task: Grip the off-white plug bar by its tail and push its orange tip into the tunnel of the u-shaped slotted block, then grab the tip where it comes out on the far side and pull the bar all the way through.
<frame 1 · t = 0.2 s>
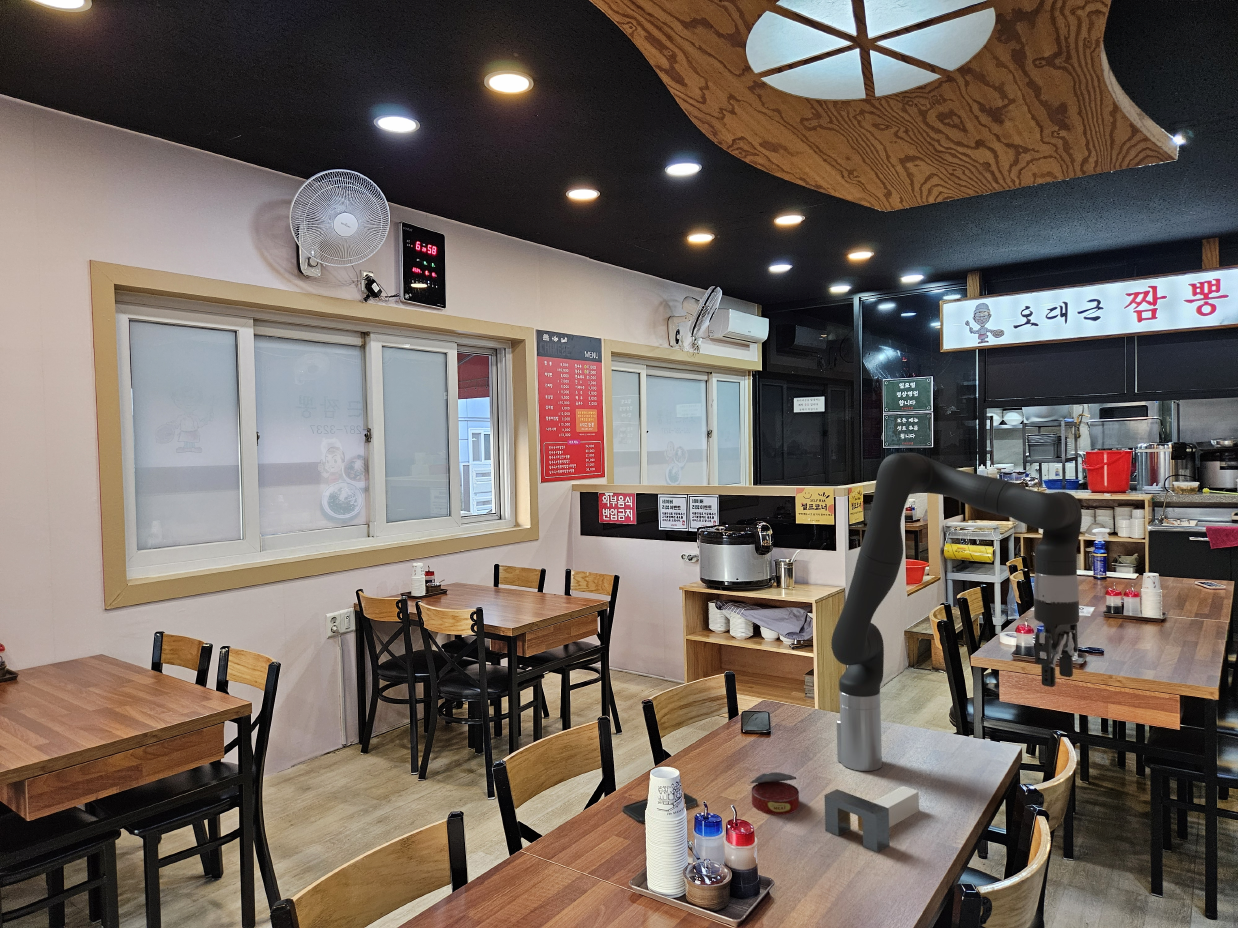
hand: (1057, 681, 151), 29 cm above the table, tool pointing down, fingers open, 8 cm apart
phone: (660, 810, 166), on the table
canned food: (775, 805, 166), on the table
u-shaped slotted block: (856, 837, 150), on the table
plug bar: (889, 819, 157), on the table
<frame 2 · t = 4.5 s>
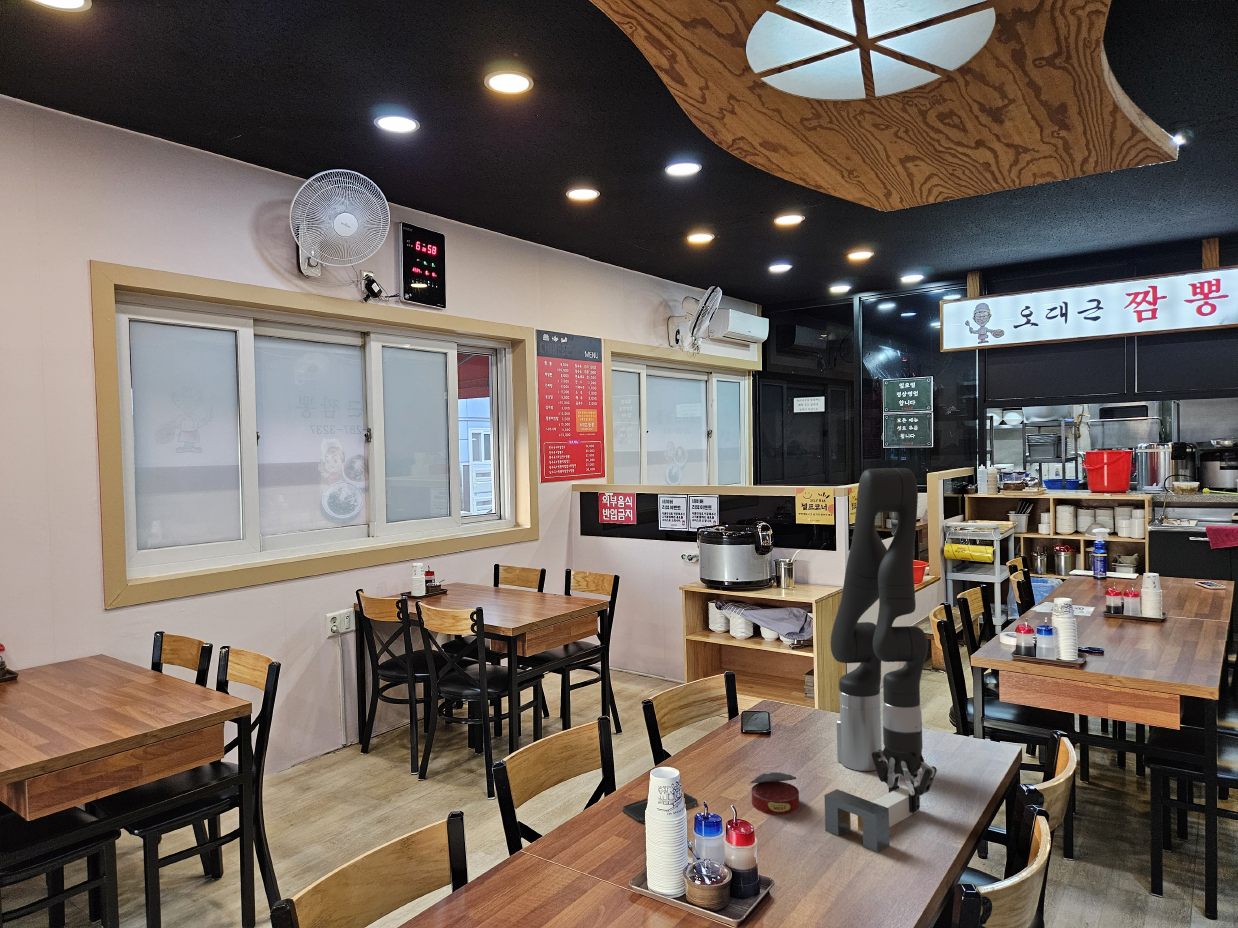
hand: (904, 807, 161), 1 cm above the table, tool pointing down, fingers closed on plug bar, 3 cm apart
plug bar: (889, 819, 157), on the table, touching gripper
everything else where it was.
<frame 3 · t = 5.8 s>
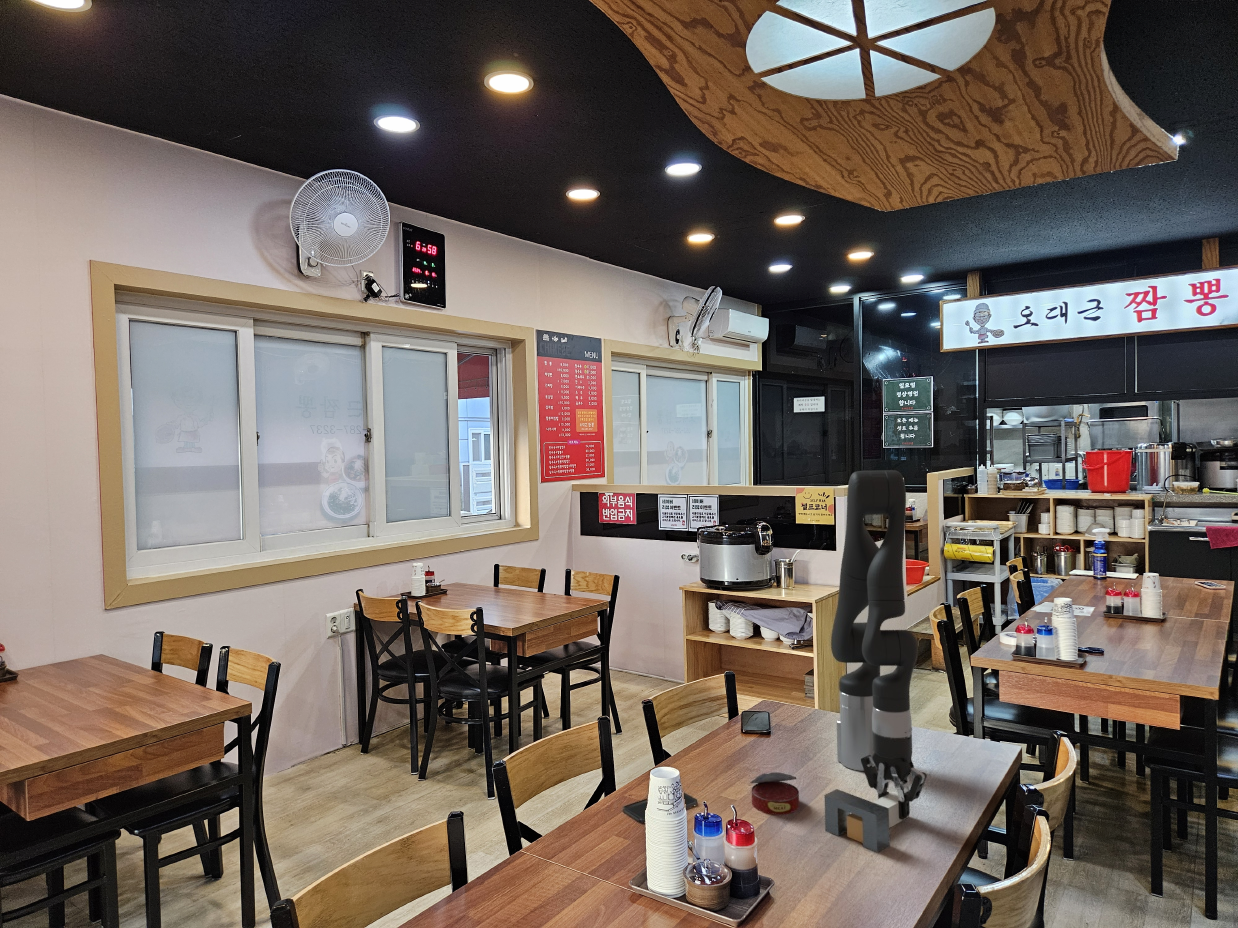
hand: (894, 814, 158), 1 cm above the table, tool pointing down, fingers closed on plug bar, 3 cm apart
plug bar: (878, 826, 155), on the table, touching gripper
everything else where it was.
when the fingers open (1 cm above the table, at t = 7.5 s): plug bar stays where it is, on the table.
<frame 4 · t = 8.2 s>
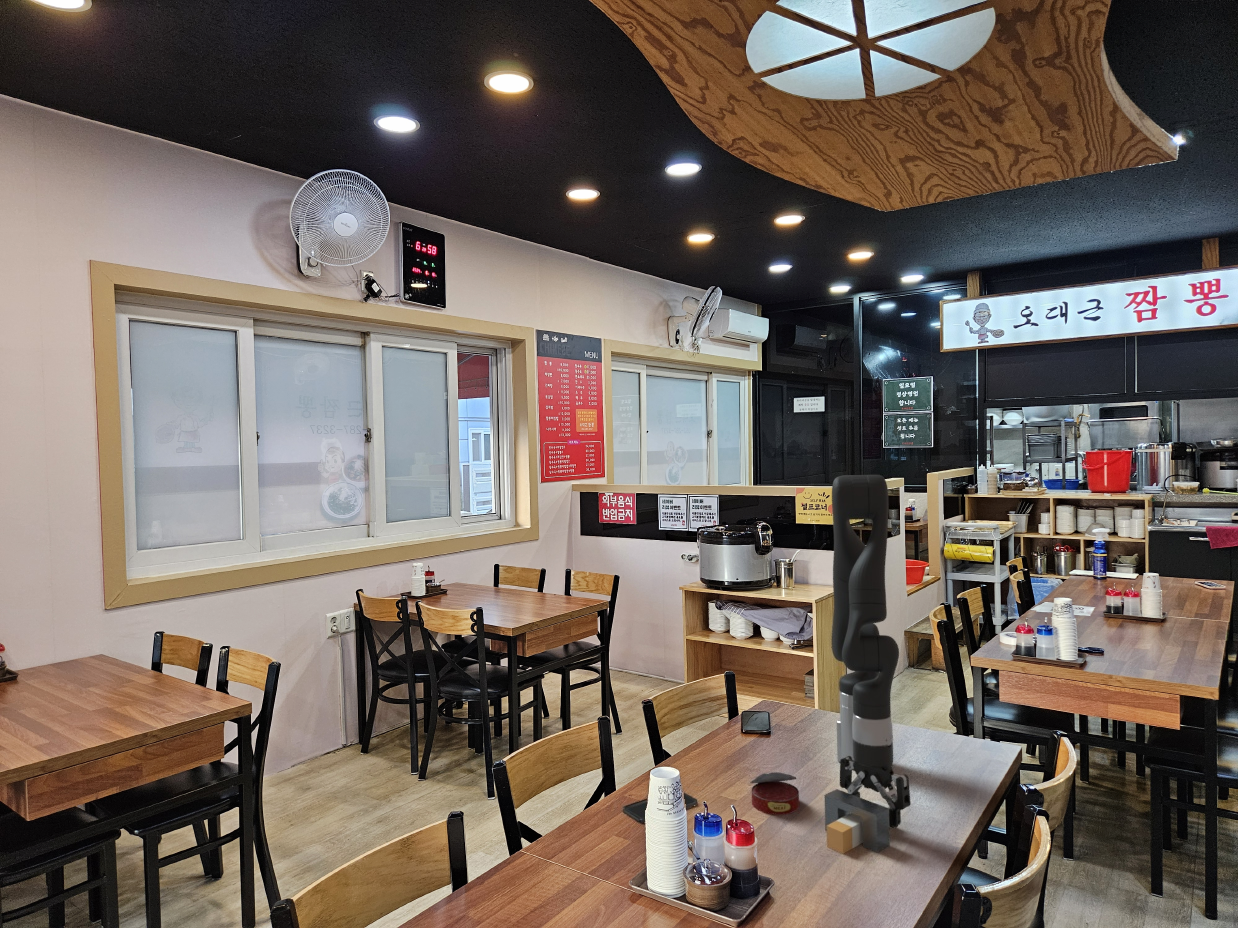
hand: (874, 819, 154), 2 cm above the table, tool pointing down, fingers open, 8 cm apart
plug bar: (860, 835, 151), on the table
everything else where it was.
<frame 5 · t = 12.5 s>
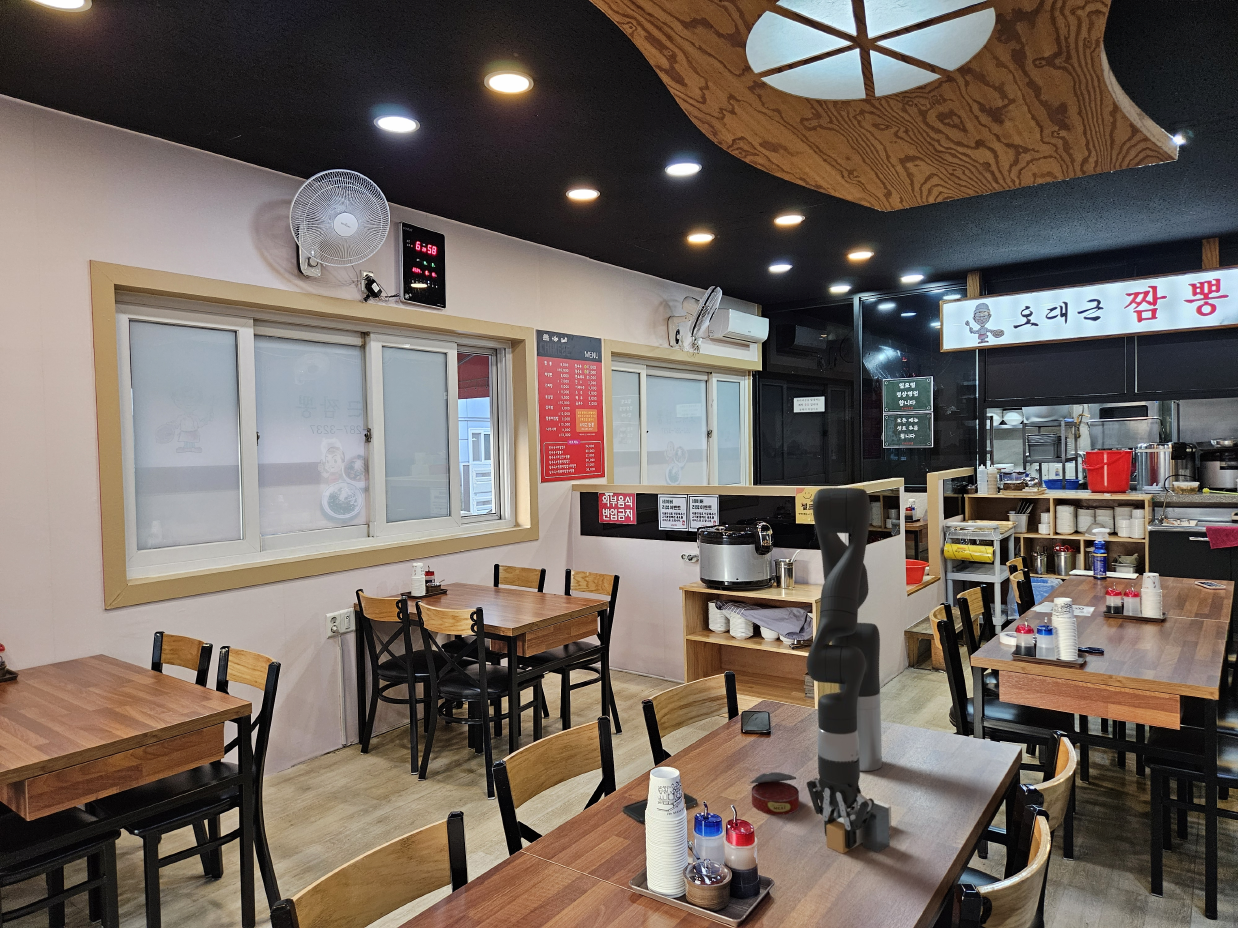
hand: (840, 842, 147), 1 cm above the table, tool pointing down, fingers closed on plug bar, 3 cm apart
plug bar: (859, 835, 151), on the table, touching gripper
everything else where it was.
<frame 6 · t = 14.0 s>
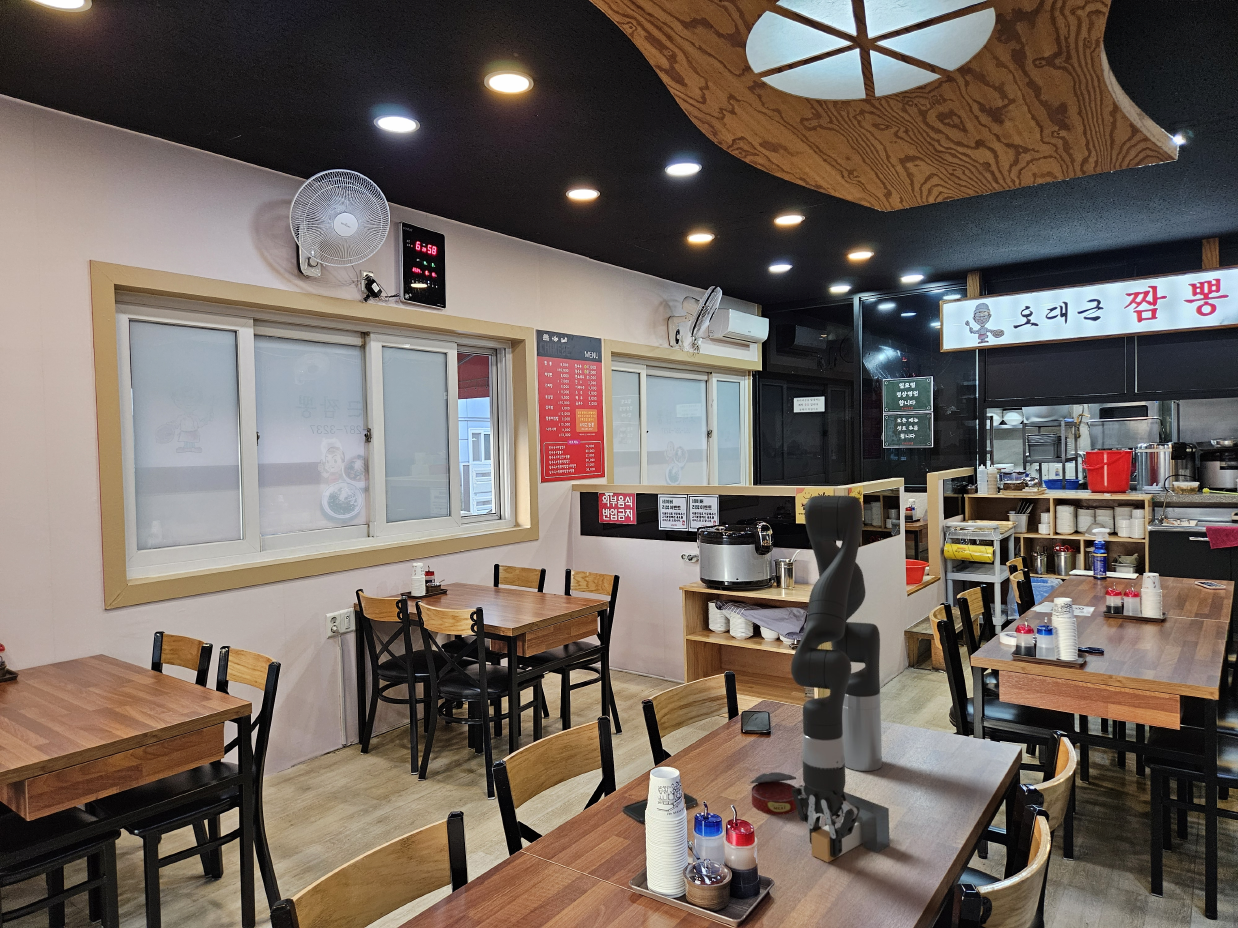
hand: (826, 851, 144), 1 cm above the table, tool pointing down, fingers closed on plug bar, 3 cm apart
plug bar: (846, 843, 148), on the table, touching gripper
everything else where it was.
when the fingers open (1 cm above the table, at t = 15.9 s): plug bar stays where it is, on the table.
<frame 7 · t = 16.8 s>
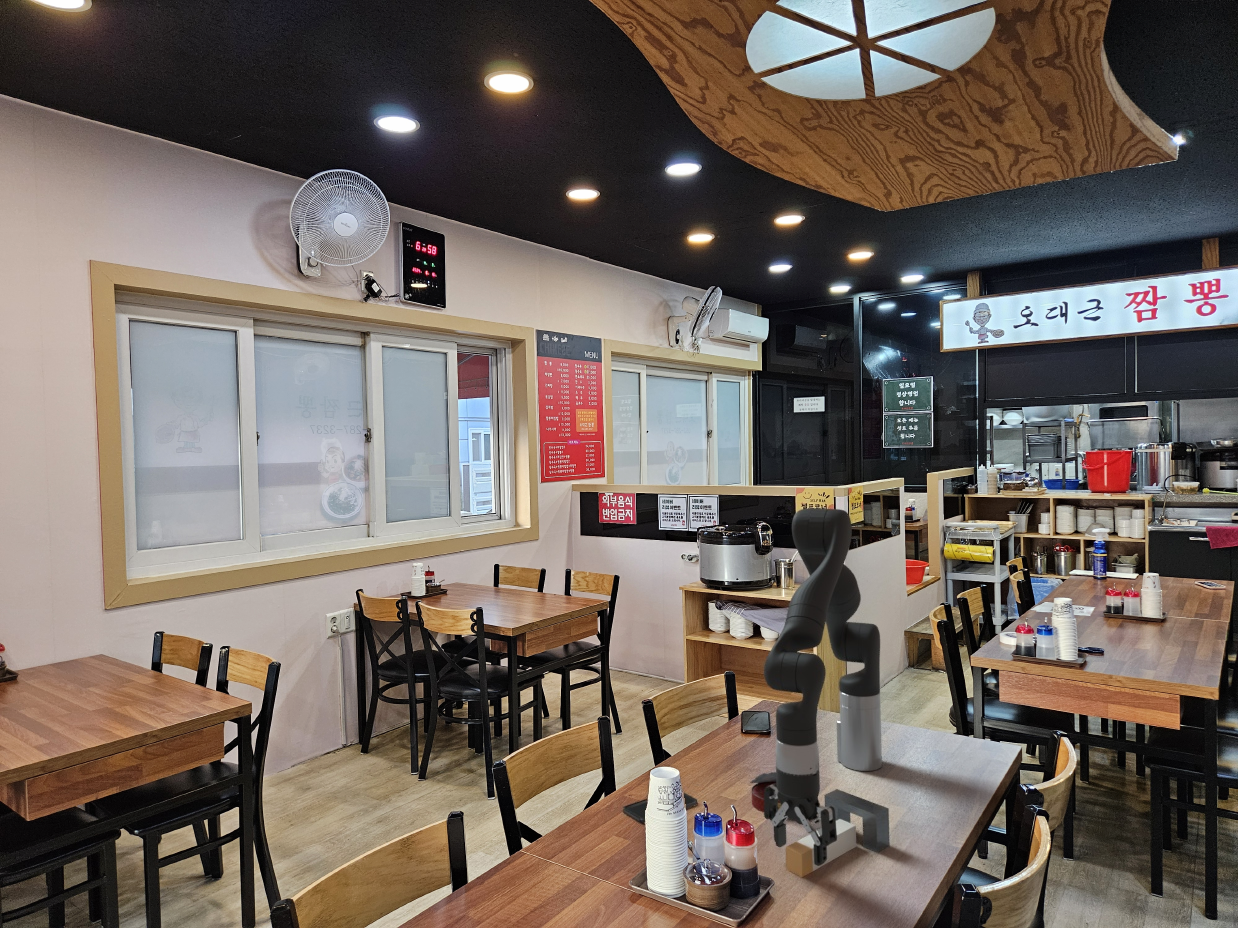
hand: (800, 854, 140), 3 cm above the table, tool pointing down, fingers open, 8 cm apart
plug bar: (822, 857, 144), on the table
everything else where it was.
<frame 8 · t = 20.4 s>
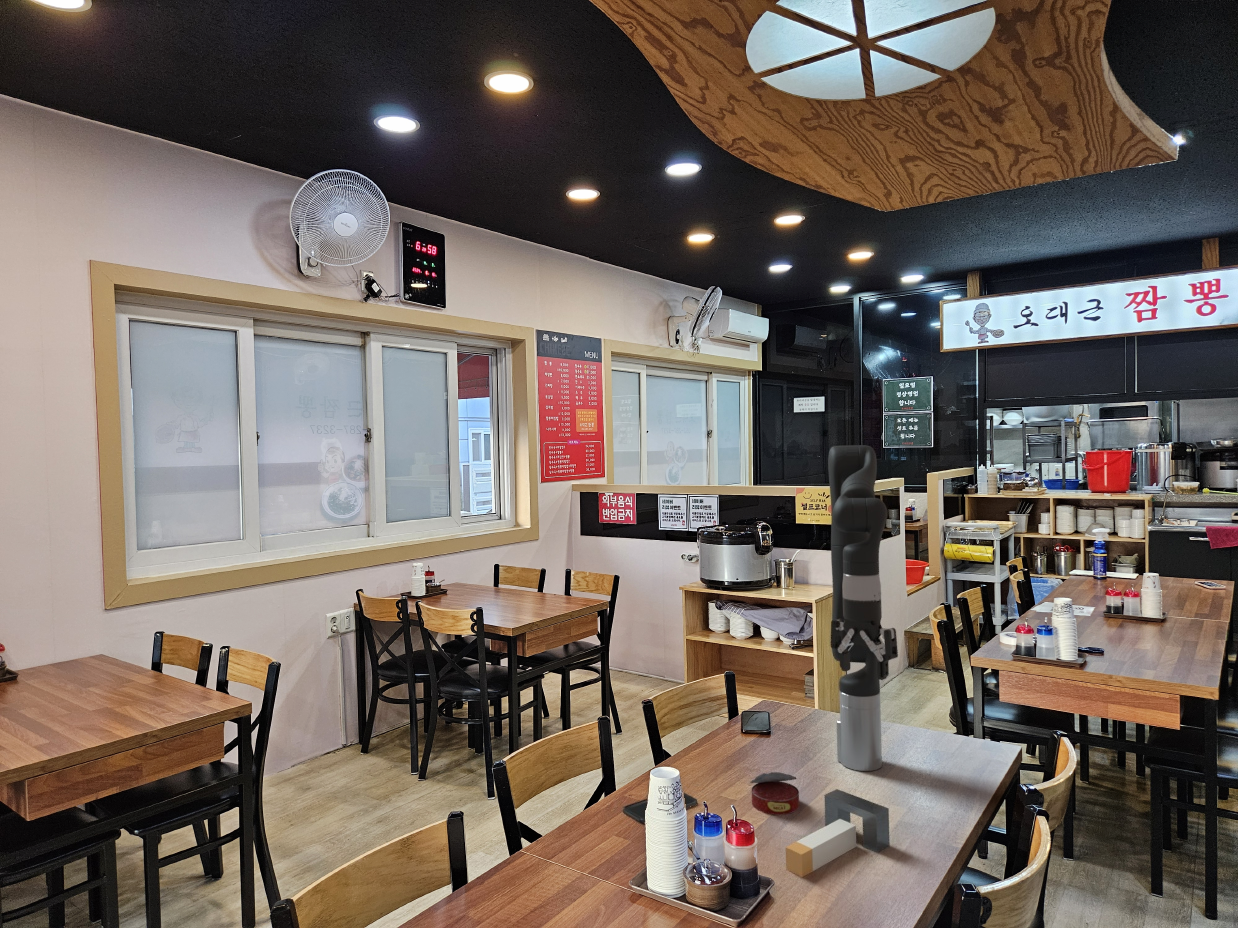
hand: (863, 674, 161), 28 cm above the table, tool pointing down, fingers open, 8 cm apart
nothing on the table moved.
at the end: plug bar inside the target area (2.0 cm from its centre), on the table; the gripper is holding nothing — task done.
